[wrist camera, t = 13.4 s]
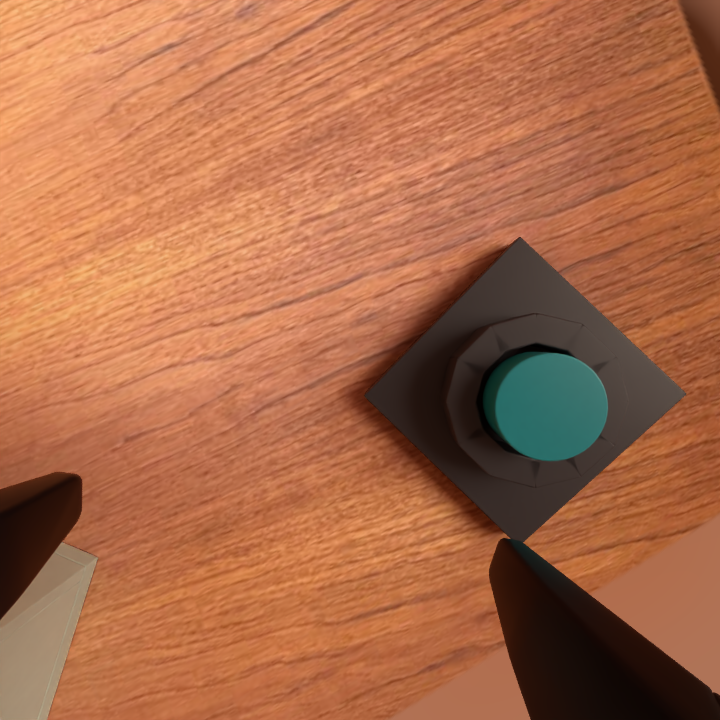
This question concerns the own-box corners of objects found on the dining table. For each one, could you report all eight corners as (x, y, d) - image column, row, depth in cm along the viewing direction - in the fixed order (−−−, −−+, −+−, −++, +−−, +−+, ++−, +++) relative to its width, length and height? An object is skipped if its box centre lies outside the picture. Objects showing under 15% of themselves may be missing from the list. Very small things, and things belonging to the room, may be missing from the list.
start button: (603, 399, 14) (633, 407, 13) (531, 467, 15) (550, 483, 13) (532, 331, 14) (551, 329, 13) (461, 400, 15) (471, 407, 13)
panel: (666, 390, 17) (727, 400, 14) (510, 533, 18) (534, 572, 15) (510, 243, 17) (537, 222, 14) (365, 392, 18) (360, 402, 15)
